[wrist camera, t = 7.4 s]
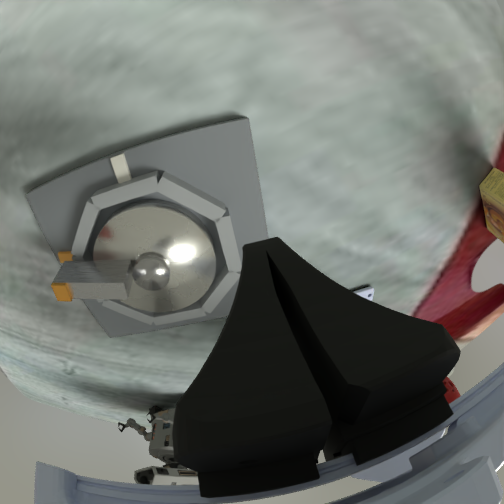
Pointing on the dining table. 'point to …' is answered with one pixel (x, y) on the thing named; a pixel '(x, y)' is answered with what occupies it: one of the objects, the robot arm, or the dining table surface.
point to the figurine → (161, 452)
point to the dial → (144, 260)
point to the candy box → (494, 202)
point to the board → (166, 189)
